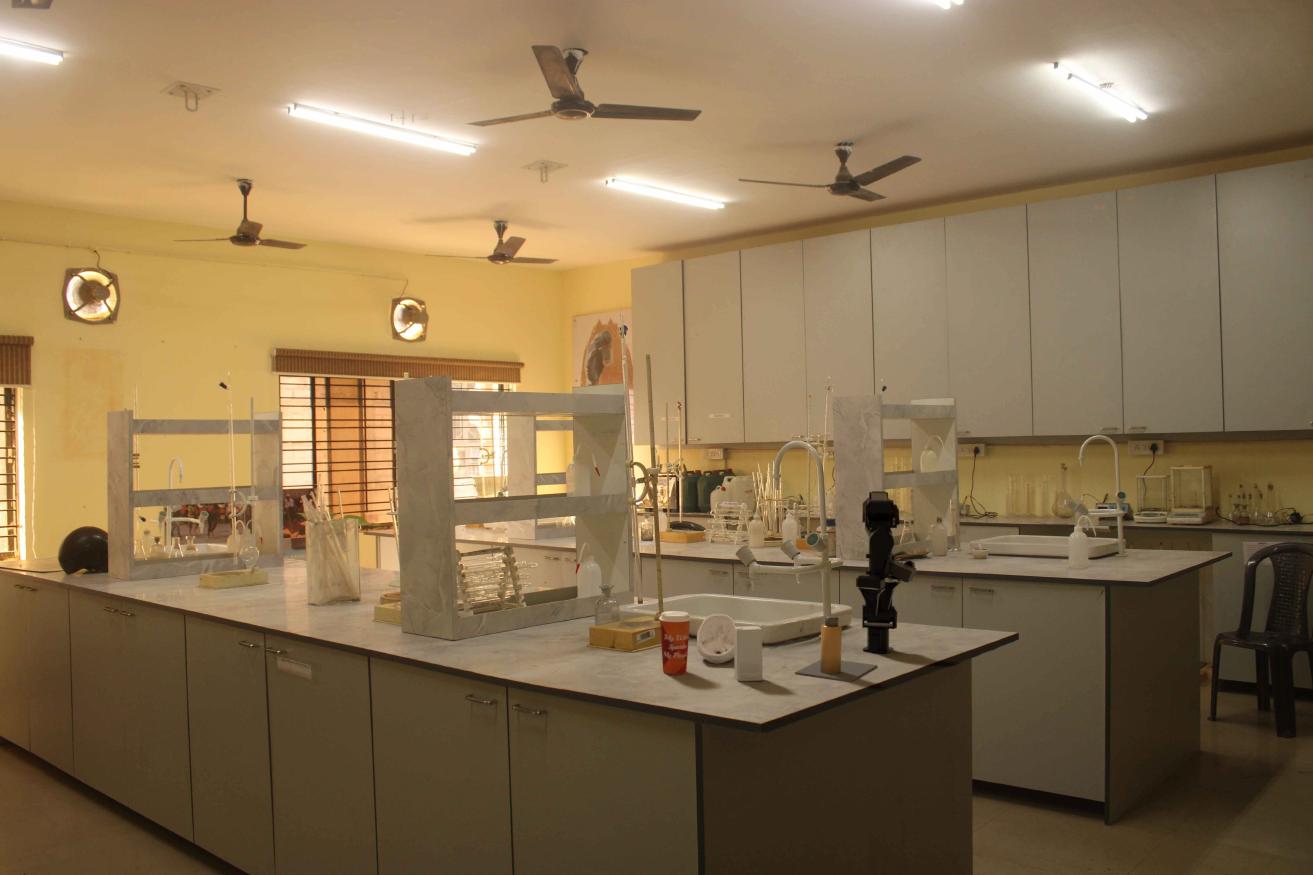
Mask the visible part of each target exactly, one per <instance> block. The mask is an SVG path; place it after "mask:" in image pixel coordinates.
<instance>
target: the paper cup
mask: <svg viewBox="0 0 1313 875" xmlns="http://www.w3.org/2000/svg"><path fill="white" fill-rule="evenodd" d="M658 620H659V621H660V641H661V642H660V643H661V644H660V645H661V646H660V647H661V656H662V657H661V661H662V671H663V673H664V674H666V675H676V676H677V675H683V674H686V673H687V669H688V668H687V666H688V653H689V651H688V650H689V639H690V638H689V636H690V635H689V634H690V621H692V618H691V615H690V614H689V612H687V611H679V610H677V611H676V610H675V611H674V610H670V611H662V612H661V613H660V616H659V617H658Z"/></svg>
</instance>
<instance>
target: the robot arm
mask: <svg viewBox="0 0 1313 875" xmlns="http://www.w3.org/2000/svg"><path fill="white" fill-rule="evenodd" d="M894 502H895V501H894V500H893V499H890V498H889V492H887V491H884V490H881V491H879V490H878V491H877V490H872V491H869V492H868V497H867V498H866V499H865V500H864V501H863V502H862V505H861V506H862V508H861V509H862V512H861V515H862V518H861V519H862V520H861V521H862V522H861V523H864V531H865V533H866V534H867V536H868V553H866V554H865V558H866V559H868V569H867V570H866V571H865V573H863V574H860V575H858V577H857V578H856V579H855V587H856V588H857V589H858V591H860V594H861V595H862V598H863V599H864V604H862V607H861V608H862V609H861V610H862V612H861V615H862V616H861V622H862V623H861V627H862V629H866V641H867V642H866V647H863V648H862V651H864V652H871V653H878V654H888V653H889V652H891V651H893V650H894V647H892V646H890V630H895V629H897V628H898V611H897V609H896V606H894V605H893V595H894V592H895V589H896V588H897V587H898V586H900V585H901V584H902V582H903V583H906V584H907V583H909V582H912V581H913V579H914V577H915V575H916V574H917V567H916V565H915V564H916V563H915V562H914V561H913V560H911V559H908V560H906V561H905V562H903V561H899V560H897V555H896V553H893V548H894V547H895V540H894V537H893V531H892V529H898V526H899V525H900V508H899V507H898V505H897V503H894Z"/></svg>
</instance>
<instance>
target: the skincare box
mask: <svg viewBox="0 0 1313 875" xmlns="http://www.w3.org/2000/svg"><path fill="white" fill-rule="evenodd" d="M733 661H734V678H735V680H736V681H737V682H750V681H751V682H756V681H757V682H758V681H759V682H761V681H763V629H762V628H761V627H760V626H757V625H756V626H755V625H754V626H752V625H751V626H749V625H748V626H746V625H745V626H736V627H734V660H733Z"/></svg>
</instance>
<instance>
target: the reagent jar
mask: <svg viewBox="0 0 1313 875" xmlns="http://www.w3.org/2000/svg"><path fill="white" fill-rule="evenodd" d="M842 633H843V625H841V624H839V617H838V616H836V615H835V616H832V615H828V616H827V615H826V616H824V623H823V624H821V625H820V660H821V672H822V673H826V674H839V673H841V660H842V638H843V637H842Z"/></svg>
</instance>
